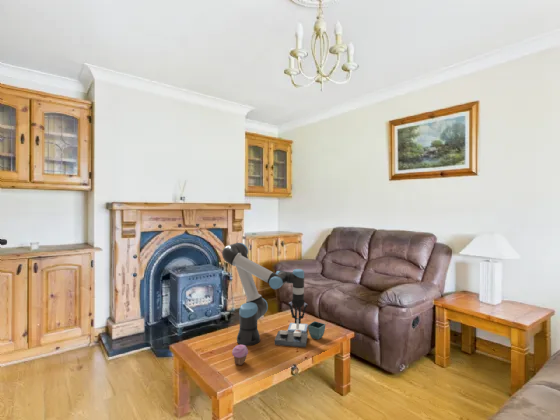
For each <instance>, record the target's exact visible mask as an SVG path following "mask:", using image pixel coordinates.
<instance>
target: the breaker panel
mask: <svg viewBox="0 0 560 420" xmlns="http://www.w3.org/2000/svg"><path fill="white" fill-rule="evenodd" d="M308 333H309V332H308ZM308 333H307V332H306V333H302V334H301V336H300V337H298V336H294V332H288V334H280V330H279V331H277V334H276V335H275V338H274V346H285V347H294V348H295V347H298V348H307V344H308V339H309V338H308V335H309V334H308Z"/></svg>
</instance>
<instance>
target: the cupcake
mask: <svg viewBox="0 0 560 420" xmlns="http://www.w3.org/2000/svg"><path fill="white" fill-rule="evenodd" d="M231 354H232V356H233V360H234V361H233V362H234V364H235V365H238V366H242V365H243V364H244V363H245V362H246V359H247V355H248V354H249V349H248V347H247V346H246V345H241V344H238V345H235V347H233V349H232V351H231Z"/></svg>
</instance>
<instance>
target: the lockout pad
mask: <svg viewBox="0 0 560 420" xmlns="http://www.w3.org/2000/svg"><path fill="white" fill-rule="evenodd" d="M308 325H309V323H300V324H299V329H296V324H295V322H290V323H289V325H288V328H287V331H288V332H294V331H295V330H301V331H302V333H307V331H308Z"/></svg>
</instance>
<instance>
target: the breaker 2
mask: <svg viewBox="0 0 560 420" xmlns="http://www.w3.org/2000/svg"><path fill="white" fill-rule="evenodd" d="M301 334H302V331H301V330H295V331H294V336H298V337H300V336H301Z"/></svg>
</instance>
